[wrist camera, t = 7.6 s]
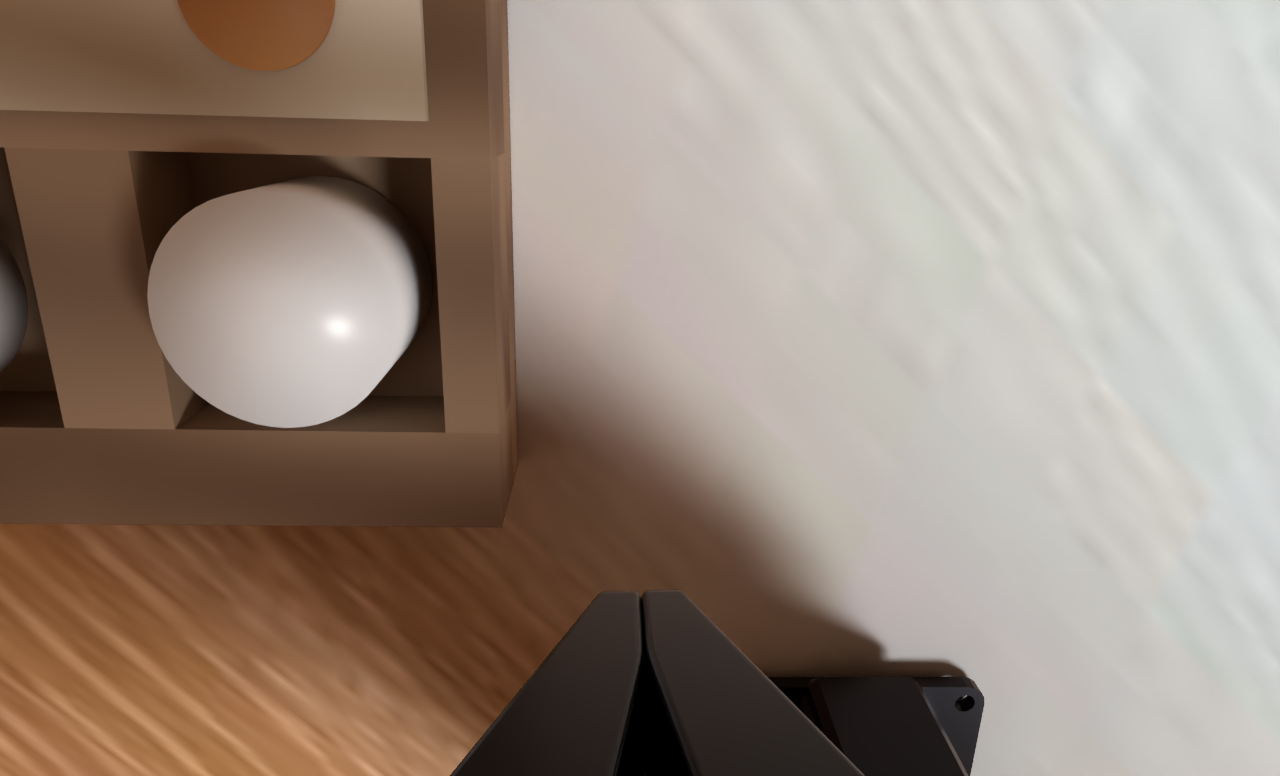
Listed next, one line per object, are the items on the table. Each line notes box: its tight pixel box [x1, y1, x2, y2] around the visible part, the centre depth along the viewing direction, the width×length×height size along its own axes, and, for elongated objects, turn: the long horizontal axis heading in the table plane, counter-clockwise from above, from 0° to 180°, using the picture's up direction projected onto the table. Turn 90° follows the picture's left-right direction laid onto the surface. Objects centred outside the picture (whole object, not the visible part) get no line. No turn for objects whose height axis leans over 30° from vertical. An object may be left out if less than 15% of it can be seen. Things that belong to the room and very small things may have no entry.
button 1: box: [147, 176, 432, 428], centre depth 15 cm, size 4×4×3 cm
